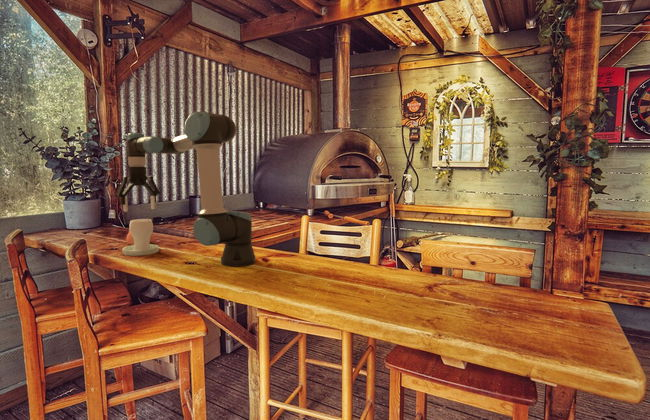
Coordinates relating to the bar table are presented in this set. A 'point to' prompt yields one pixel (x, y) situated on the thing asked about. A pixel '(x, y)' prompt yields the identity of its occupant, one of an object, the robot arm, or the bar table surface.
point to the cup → (141, 233)
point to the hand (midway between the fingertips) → (139, 210)
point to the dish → (130, 251)
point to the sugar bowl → (131, 240)
